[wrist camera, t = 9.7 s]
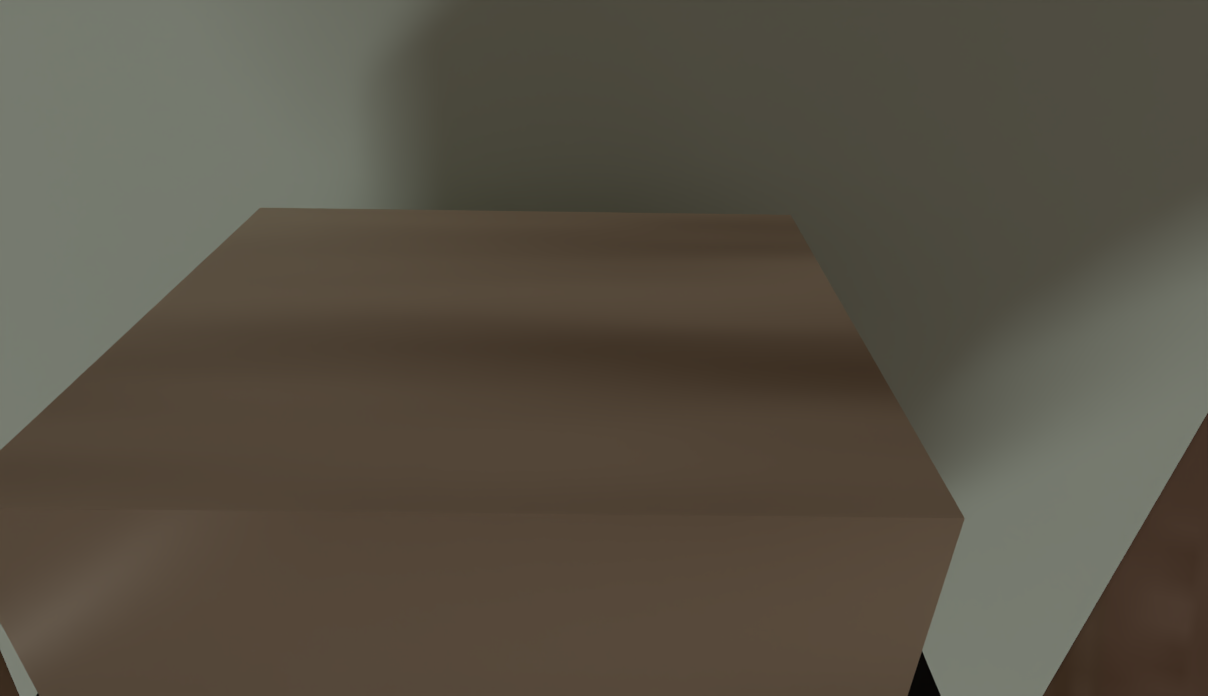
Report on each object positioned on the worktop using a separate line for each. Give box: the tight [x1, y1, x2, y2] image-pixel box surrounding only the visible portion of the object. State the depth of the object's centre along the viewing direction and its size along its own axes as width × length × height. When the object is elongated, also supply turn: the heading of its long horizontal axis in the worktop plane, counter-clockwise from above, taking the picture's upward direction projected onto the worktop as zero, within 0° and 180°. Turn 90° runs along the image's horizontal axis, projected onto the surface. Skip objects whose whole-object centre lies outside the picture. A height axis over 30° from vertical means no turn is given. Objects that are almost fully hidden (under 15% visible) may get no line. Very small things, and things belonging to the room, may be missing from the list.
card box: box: [0, 208, 965, 696], centre depth 9 cm, size 9×6×5 cm, turn 179°
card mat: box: [0, 0, 1208, 696], centre depth 13 cm, size 20×16×1 cm
